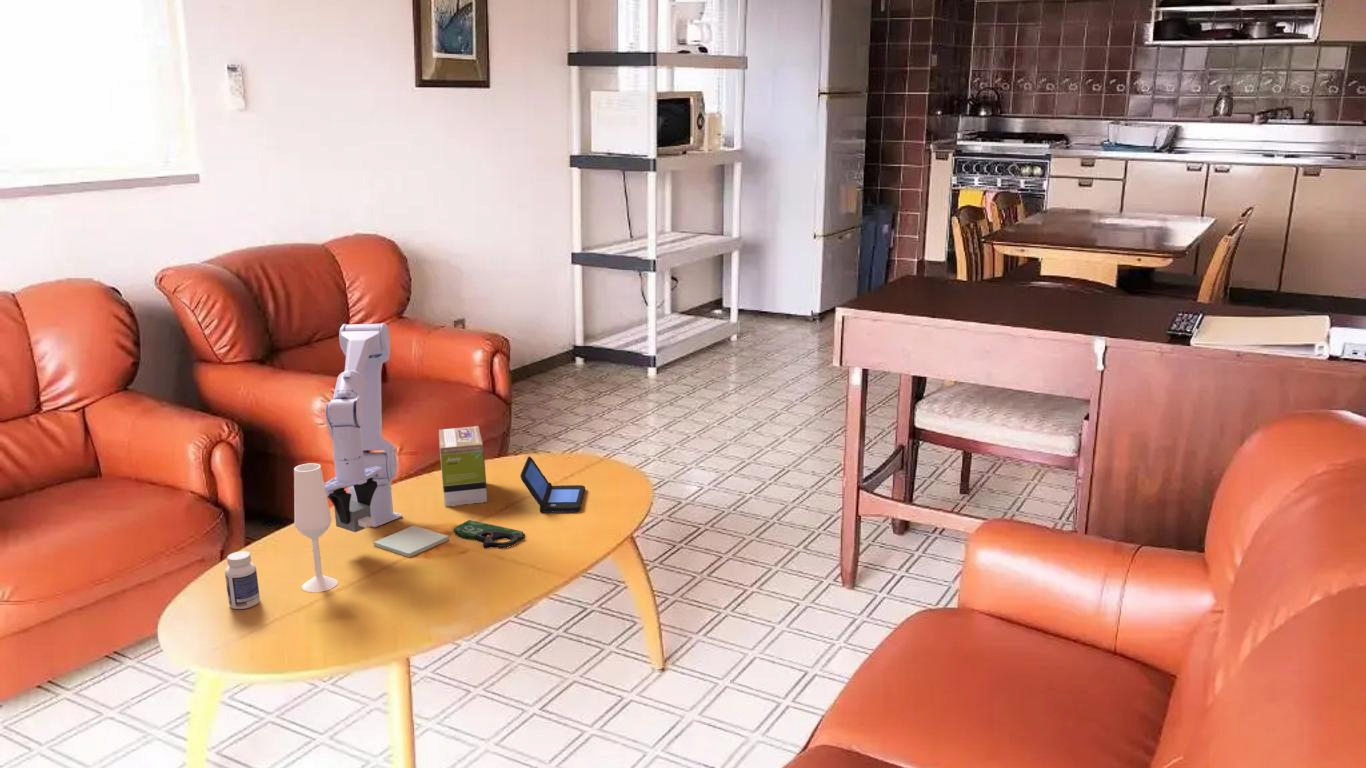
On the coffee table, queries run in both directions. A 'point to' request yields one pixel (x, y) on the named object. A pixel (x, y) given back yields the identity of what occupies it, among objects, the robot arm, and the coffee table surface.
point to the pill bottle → (241, 581)
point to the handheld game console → (551, 491)
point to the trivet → (411, 541)
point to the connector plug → (356, 517)
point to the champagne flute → (312, 518)
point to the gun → (488, 534)
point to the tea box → (462, 466)
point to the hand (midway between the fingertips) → (354, 519)
